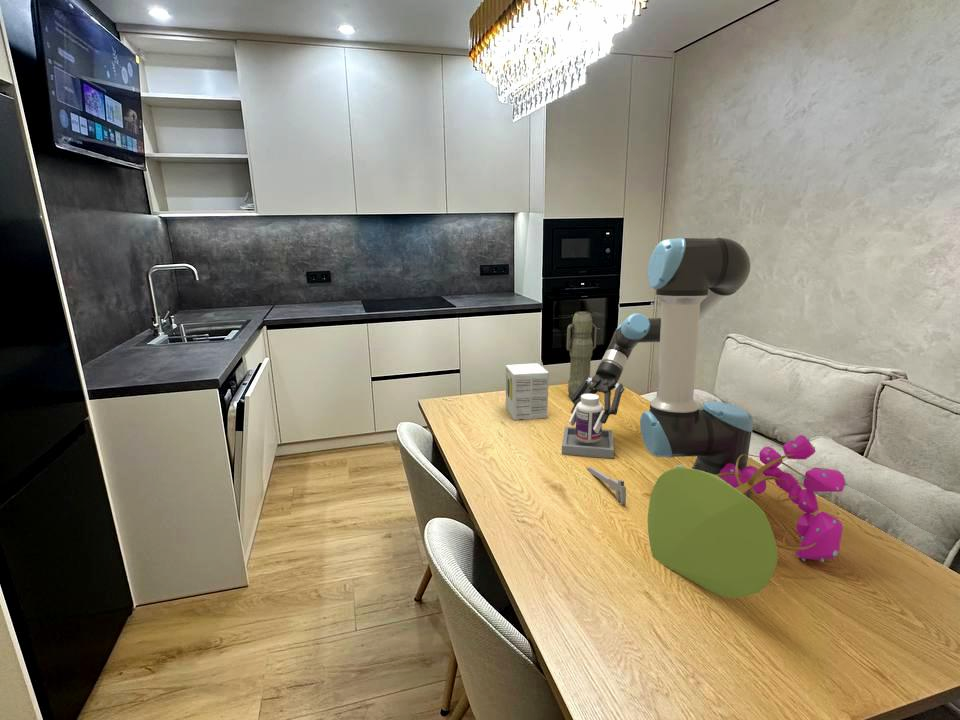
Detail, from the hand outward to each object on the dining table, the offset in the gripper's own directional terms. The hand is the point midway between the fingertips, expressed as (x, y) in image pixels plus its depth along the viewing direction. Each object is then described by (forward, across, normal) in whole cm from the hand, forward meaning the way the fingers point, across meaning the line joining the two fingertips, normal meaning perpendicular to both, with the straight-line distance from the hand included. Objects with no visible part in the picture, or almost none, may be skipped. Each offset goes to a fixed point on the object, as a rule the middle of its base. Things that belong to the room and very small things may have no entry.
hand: (583, 427), depth 154 cm
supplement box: (-4, +32, -15) cm, 36 cm away
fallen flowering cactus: (+20, -53, +9) cm, 57 cm away
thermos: (-24, +27, -35) cm, 51 cm away
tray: (+3, 0, -8) cm, 8 cm away
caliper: (+17, -16, +6) cm, 24 cm away
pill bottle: (+1, 0, -6) cm, 6 cm away
